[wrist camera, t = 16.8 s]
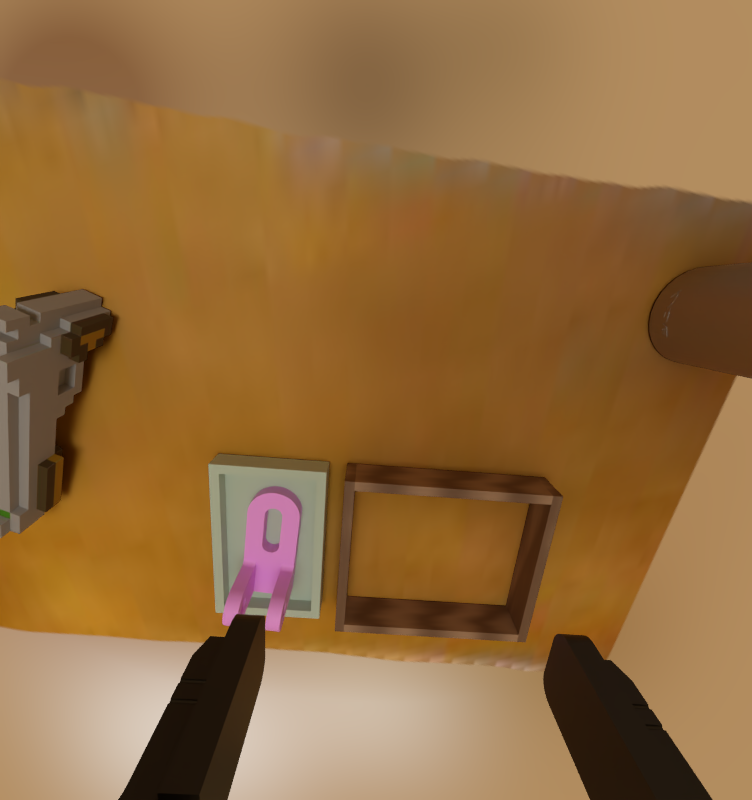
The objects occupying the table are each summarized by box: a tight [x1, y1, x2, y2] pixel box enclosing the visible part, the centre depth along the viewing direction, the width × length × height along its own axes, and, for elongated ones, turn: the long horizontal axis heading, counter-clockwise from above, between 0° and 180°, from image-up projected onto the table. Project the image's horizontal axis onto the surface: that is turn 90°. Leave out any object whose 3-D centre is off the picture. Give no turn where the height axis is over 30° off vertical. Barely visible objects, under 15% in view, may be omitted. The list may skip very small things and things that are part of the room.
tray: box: [208, 454, 329, 619], centre depth 40 cm, size 12×19×2 cm, turn 175°
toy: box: [0, 289, 113, 538], centre depth 34 cm, size 6×24×10 cm, turn 154°
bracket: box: [222, 486, 302, 632], centre depth 37 cm, size 13×6×7 cm, turn 171°
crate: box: [335, 463, 563, 642], centre depth 40 cm, size 22×19×4 cm
